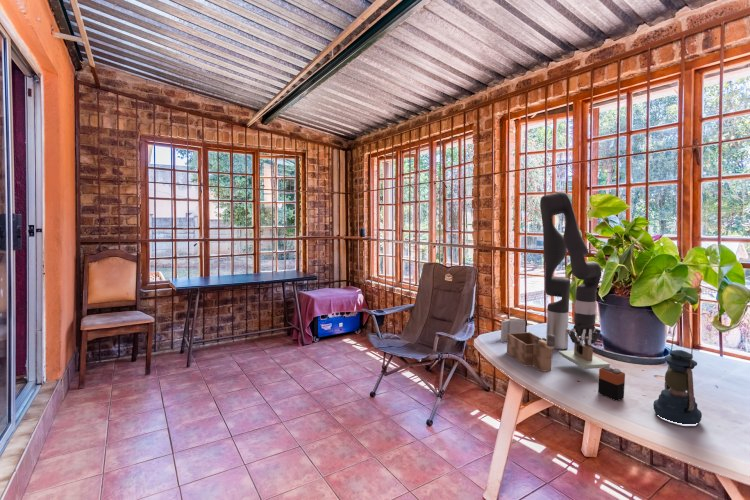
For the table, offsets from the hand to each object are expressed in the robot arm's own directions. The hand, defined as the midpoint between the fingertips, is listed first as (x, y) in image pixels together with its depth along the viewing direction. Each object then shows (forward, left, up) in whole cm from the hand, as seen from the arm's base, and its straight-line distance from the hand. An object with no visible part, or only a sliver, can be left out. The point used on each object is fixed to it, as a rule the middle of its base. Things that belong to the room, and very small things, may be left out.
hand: (582, 353), depth 158 cm
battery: (-6, +21, -7) cm, 24 cm away
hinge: (+28, -31, -7) cm, 42 cm away
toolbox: (+19, -4, -7) cm, 21 cm away
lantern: (-22, +31, -7) cm, 39 cm away
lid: (0, 0, -3) cm, 3 cm away
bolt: (+14, +5, +3) cm, 15 cm away
